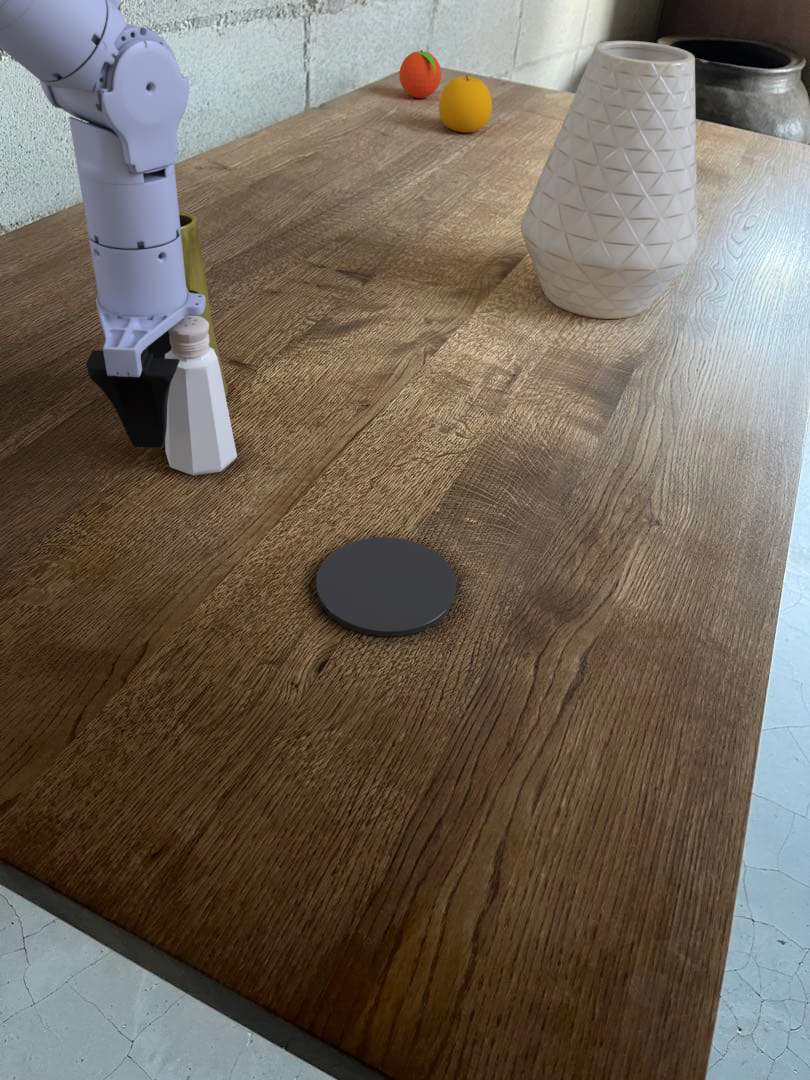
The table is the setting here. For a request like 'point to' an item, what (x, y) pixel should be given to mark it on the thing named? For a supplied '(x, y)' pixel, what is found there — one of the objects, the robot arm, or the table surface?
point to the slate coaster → (386, 586)
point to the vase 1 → (197, 273)
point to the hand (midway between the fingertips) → (159, 415)
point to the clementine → (420, 74)
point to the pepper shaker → (197, 403)
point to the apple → (465, 104)
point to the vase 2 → (619, 184)
